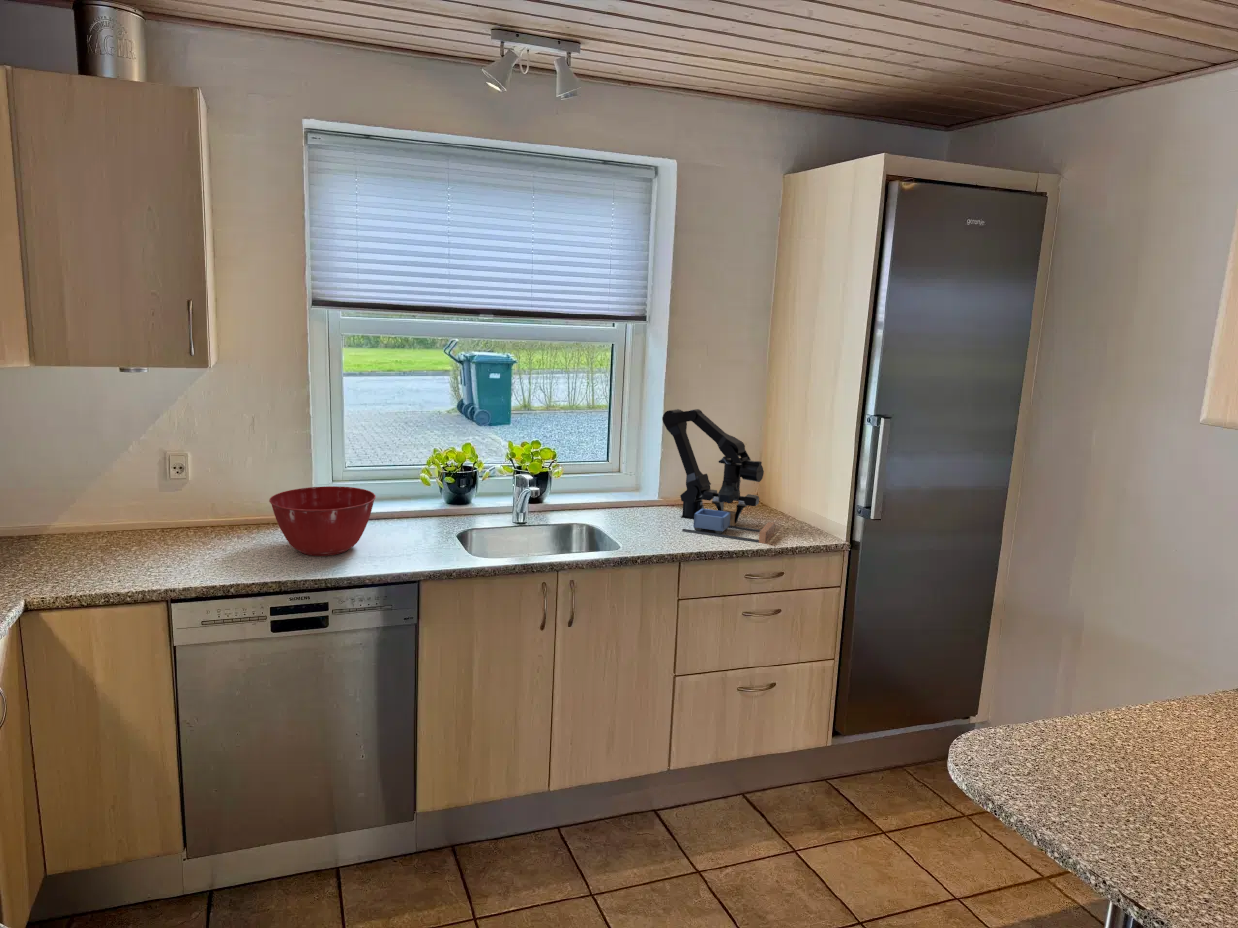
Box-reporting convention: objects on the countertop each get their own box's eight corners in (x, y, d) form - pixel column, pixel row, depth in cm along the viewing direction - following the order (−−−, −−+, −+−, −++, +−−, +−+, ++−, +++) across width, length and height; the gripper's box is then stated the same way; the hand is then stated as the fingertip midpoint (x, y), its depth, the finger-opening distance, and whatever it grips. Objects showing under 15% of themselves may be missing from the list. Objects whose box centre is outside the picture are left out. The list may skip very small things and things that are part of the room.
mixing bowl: (287, 569, 228) (286, 512, 226) (258, 542, 251) (257, 490, 248) (390, 555, 245) (390, 502, 242) (355, 531, 267) (355, 482, 265)
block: (720, 525, 297) (721, 512, 296) (723, 522, 301) (724, 510, 300) (733, 527, 295) (734, 514, 294) (736, 524, 299) (737, 511, 298)
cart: (693, 530, 286) (694, 513, 285) (700, 525, 295) (701, 508, 294) (722, 535, 283) (723, 517, 282) (729, 529, 291) (730, 512, 290)
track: (682, 532, 285) (682, 520, 285) (694, 523, 298) (695, 511, 297) (764, 544, 276) (765, 532, 275) (773, 534, 288) (774, 522, 288)
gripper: (698, 478, 291) (695, 523, 294) (753, 484, 284) (750, 531, 287) (707, 472, 301) (704, 516, 304) (761, 479, 294) (757, 523, 297)
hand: (728, 522), depth 298 cm, fingers closed on block, 4 cm apart
